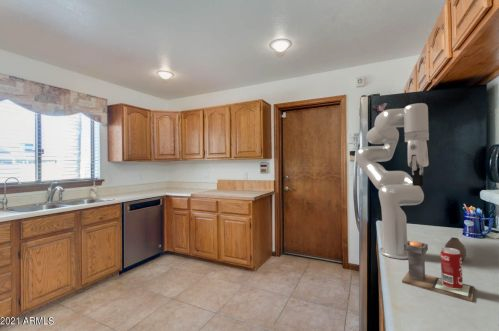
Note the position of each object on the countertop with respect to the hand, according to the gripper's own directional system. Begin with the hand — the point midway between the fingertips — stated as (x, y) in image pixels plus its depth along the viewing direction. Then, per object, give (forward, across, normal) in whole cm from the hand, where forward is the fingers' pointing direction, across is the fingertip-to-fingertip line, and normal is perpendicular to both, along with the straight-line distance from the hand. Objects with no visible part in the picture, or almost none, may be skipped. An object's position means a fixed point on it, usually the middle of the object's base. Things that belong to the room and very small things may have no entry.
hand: (418, 185), depth 91 cm
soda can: (+32, -8, -10) cm, 35 cm away
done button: (+22, -9, 0) cm, 23 cm away
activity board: (+33, -9, -6) cm, 34 cm away
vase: (+33, +23, -8) cm, 41 cm away
